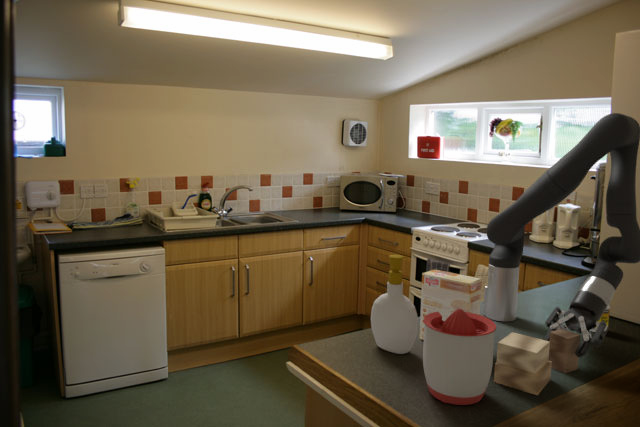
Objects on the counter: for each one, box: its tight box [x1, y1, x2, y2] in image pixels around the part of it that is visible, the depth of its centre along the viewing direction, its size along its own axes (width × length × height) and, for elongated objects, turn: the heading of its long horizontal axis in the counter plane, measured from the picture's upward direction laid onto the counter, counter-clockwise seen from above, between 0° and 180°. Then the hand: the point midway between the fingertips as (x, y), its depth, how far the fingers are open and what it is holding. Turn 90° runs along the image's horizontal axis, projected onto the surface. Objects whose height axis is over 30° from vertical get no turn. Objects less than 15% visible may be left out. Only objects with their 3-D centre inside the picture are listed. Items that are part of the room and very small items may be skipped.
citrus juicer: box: [422, 309, 497, 406], centre depth 120 cm, size 16×17×20 cm
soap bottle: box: [370, 254, 419, 355], centre depth 143 cm, size 14×9×26 cm, turn 46°
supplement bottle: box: [590, 304, 611, 333], centre depth 160 cm, size 6×6×10 cm
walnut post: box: [548, 329, 581, 374], centre depth 134 cm, size 5×5×9 cm
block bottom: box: [493, 361, 552, 396], centre depth 127 cm, size 10×10×5 cm
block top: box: [495, 331, 550, 374], centre depth 126 cm, size 9×9×5 cm
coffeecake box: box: [419, 269, 483, 341], centre depth 148 cm, size 15×7×20 cm, turn 47°
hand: (561, 349), depth 134 cm, fingers open, 8 cm apart
